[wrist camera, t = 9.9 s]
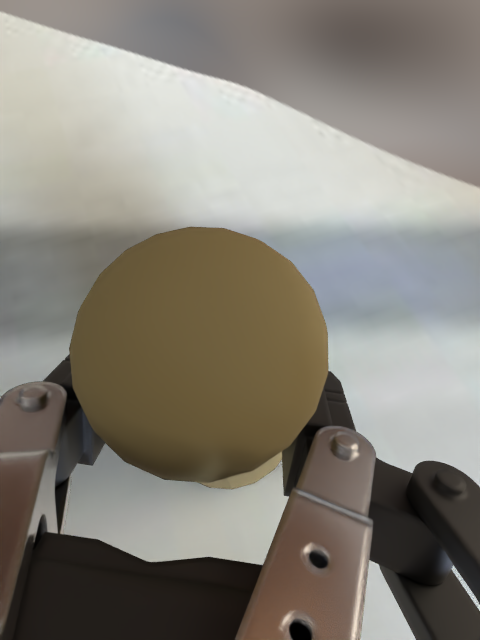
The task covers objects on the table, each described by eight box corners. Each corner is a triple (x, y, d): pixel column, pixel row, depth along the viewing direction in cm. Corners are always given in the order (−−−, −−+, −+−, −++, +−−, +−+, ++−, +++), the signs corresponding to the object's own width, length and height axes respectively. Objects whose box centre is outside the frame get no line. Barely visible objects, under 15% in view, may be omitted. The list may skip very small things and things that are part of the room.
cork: (179, 334, 18) (89, 155, 8) (306, 362, 18) (388, 205, 7) (138, 469, 16) (-58, 461, 6) (282, 505, 15) (349, 568, 5)
